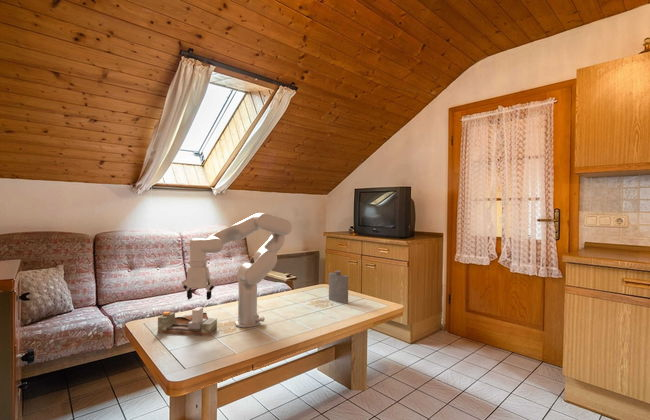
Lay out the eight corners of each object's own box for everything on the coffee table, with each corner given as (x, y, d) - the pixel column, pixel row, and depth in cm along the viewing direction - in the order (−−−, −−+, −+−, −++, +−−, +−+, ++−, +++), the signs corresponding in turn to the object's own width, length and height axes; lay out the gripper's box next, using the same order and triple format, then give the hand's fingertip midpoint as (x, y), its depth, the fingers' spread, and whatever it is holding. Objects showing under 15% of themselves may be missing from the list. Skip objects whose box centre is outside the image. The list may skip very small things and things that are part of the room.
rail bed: (216, 329, 166) (217, 314, 165) (209, 335, 158) (209, 320, 157) (167, 327, 168) (167, 312, 168) (157, 333, 160) (157, 317, 160)
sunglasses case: (175, 329, 166) (173, 315, 168) (172, 332, 170) (170, 319, 173) (211, 322, 176) (209, 309, 179) (208, 325, 181) (206, 313, 184)
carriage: (206, 323, 166) (206, 306, 165) (200, 329, 159) (200, 311, 158) (195, 323, 166) (195, 306, 166) (188, 328, 159) (188, 310, 159)
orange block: (170, 321, 165) (170, 311, 165) (167, 323, 163) (167, 313, 163) (165, 321, 165) (165, 311, 165) (162, 323, 163) (162, 313, 163)
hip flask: (349, 303, 214) (349, 272, 213) (344, 304, 211) (345, 273, 211) (331, 298, 225) (331, 268, 225) (326, 299, 222) (327, 269, 222)
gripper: (177, 265, 159) (178, 300, 160) (212, 265, 157) (212, 301, 158) (185, 262, 167) (186, 296, 167) (218, 262, 165) (219, 297, 165)
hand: (199, 298), depth 163 cm, fingers open, 9 cm apart
